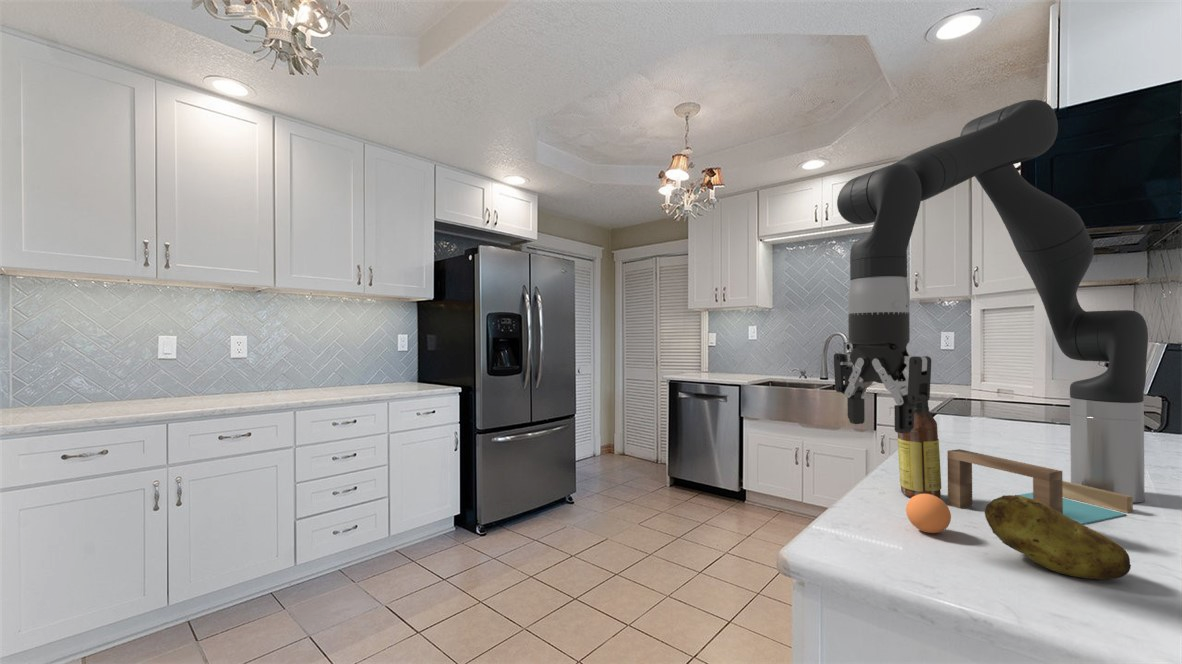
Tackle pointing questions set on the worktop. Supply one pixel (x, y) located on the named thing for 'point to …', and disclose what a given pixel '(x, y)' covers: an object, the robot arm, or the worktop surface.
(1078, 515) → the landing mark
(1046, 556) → the potato
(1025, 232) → the robot arm
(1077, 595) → the worktop surface
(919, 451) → the sauce bottle
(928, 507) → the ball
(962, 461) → the bridge
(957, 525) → the worktop surface
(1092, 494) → the stopper strip
